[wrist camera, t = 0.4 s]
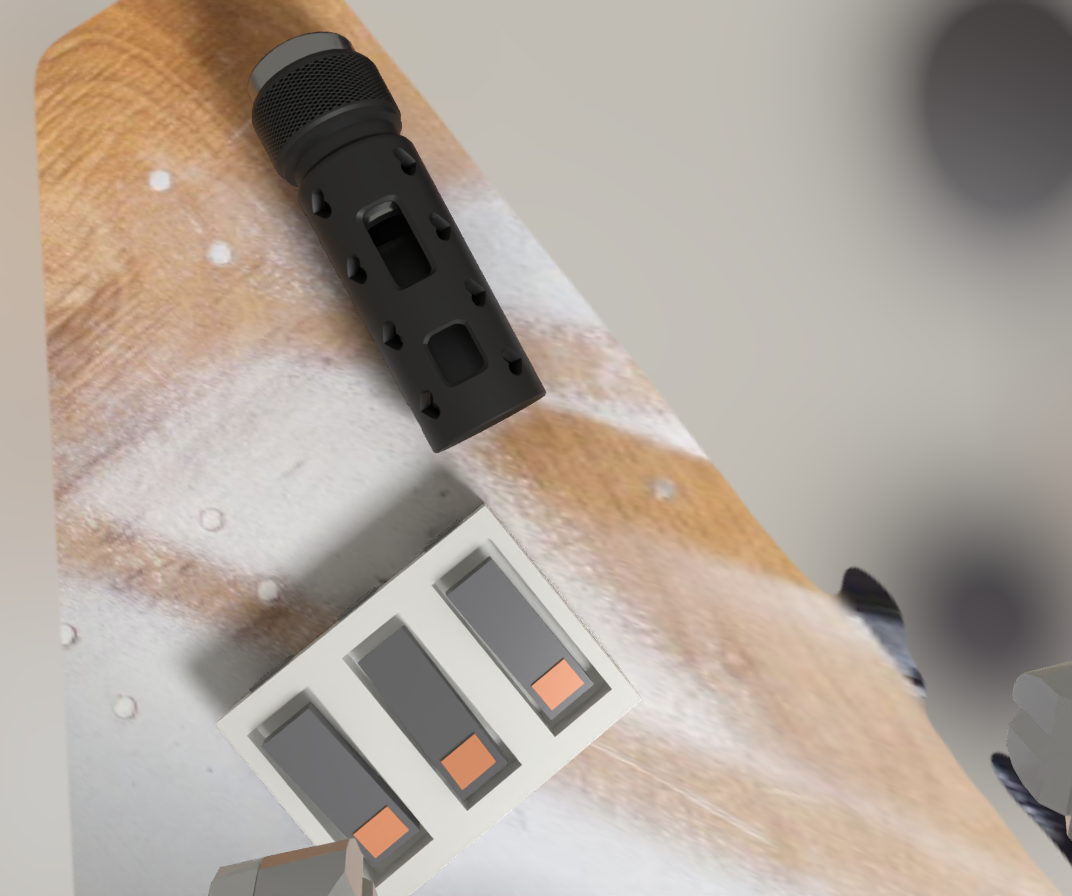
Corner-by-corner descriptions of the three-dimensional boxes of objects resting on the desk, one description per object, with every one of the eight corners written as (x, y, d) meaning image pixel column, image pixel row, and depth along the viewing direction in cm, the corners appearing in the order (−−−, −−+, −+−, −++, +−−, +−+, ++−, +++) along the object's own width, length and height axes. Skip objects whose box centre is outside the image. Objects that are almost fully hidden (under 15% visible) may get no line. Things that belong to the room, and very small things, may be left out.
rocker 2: (590, 678, 58) (594, 684, 57) (548, 713, 58) (551, 720, 57) (489, 555, 56) (491, 560, 55) (445, 591, 56) (446, 596, 55)
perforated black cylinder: (435, 456, 61) (426, 455, 51) (261, 134, 61) (216, 66, 50) (544, 398, 62) (557, 385, 51) (372, 79, 61) (350, 1, 51)
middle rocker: (508, 759, 56) (507, 763, 55) (464, 796, 56) (462, 801, 55) (404, 624, 58) (401, 626, 56) (361, 660, 57) (356, 662, 56)
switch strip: (630, 682, 62) (642, 699, 57) (386, 888, 60) (378, 922, 55) (482, 499, 61) (483, 502, 56) (232, 702, 59) (212, 721, 55)
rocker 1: (419, 821, 57) (419, 831, 56) (376, 857, 57) (375, 868, 56) (310, 701, 55) (308, 709, 54) (264, 738, 55) (261, 747, 54)
